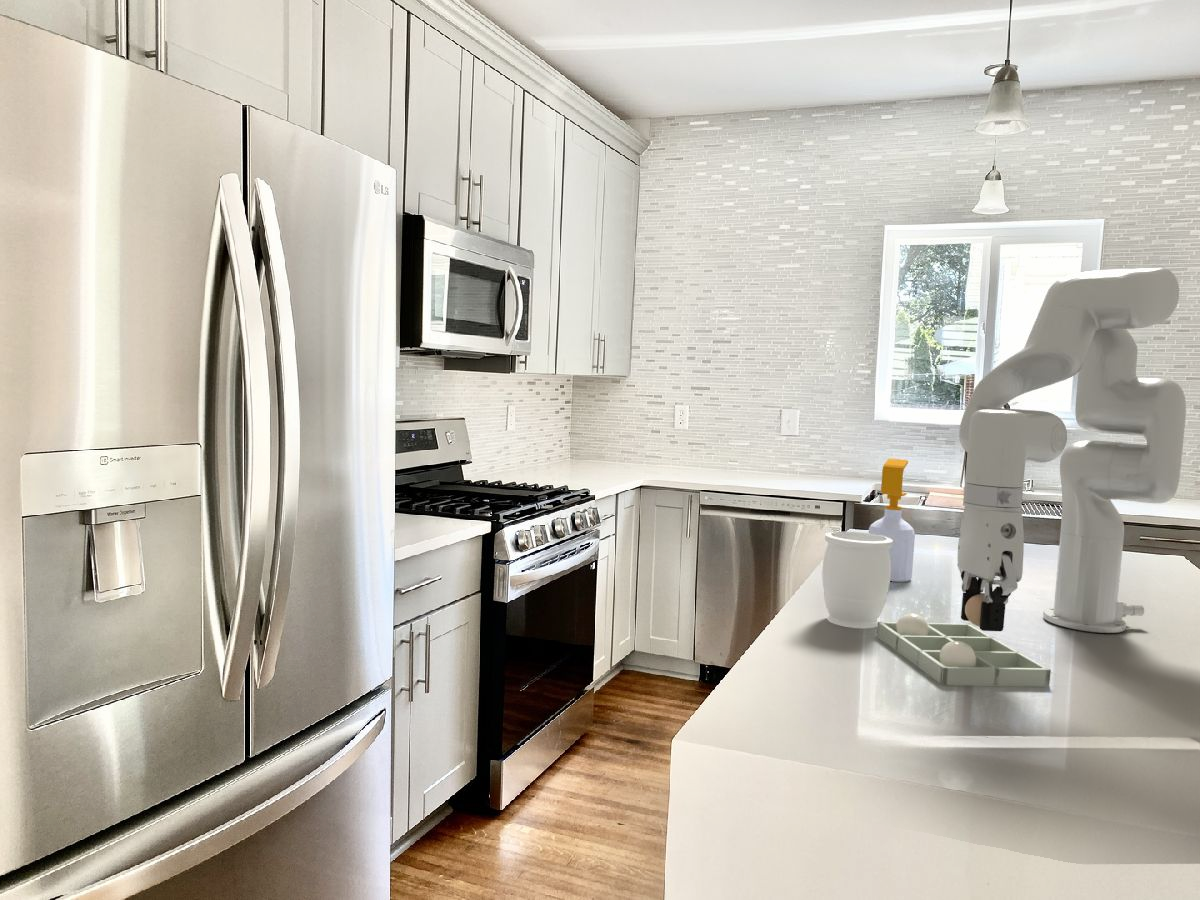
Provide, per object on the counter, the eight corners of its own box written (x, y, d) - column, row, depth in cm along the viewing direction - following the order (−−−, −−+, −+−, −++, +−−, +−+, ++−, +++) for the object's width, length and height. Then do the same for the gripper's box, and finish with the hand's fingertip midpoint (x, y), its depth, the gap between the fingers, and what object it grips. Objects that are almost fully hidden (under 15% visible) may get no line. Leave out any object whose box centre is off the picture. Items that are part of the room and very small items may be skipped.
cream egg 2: (964, 669, 122) (966, 636, 122) (981, 681, 117) (984, 647, 117) (931, 669, 122) (934, 636, 121) (947, 680, 117) (950, 646, 117)
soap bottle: (915, 577, 186) (924, 460, 184) (905, 584, 178) (914, 462, 176) (872, 570, 191) (880, 456, 189) (860, 577, 183) (868, 459, 181)
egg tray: (967, 643, 138) (968, 623, 138) (1048, 693, 117) (1050, 669, 117) (876, 642, 137) (877, 621, 137) (941, 692, 116) (943, 668, 115)
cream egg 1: (919, 639, 136) (921, 609, 136) (933, 648, 131) (935, 618, 131) (890, 639, 136) (892, 609, 135) (902, 648, 131) (905, 617, 131)
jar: (887, 623, 148) (893, 534, 147) (885, 640, 138) (892, 544, 137) (821, 615, 152) (827, 528, 150) (815, 631, 142) (822, 538, 141)
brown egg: (988, 622, 129) (990, 591, 129) (1005, 631, 124) (1008, 599, 124) (957, 621, 129) (960, 590, 128) (973, 630, 124) (976, 598, 124)
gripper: (1053, 507, 117) (1040, 643, 118) (986, 491, 134) (976, 610, 135) (998, 505, 116) (986, 641, 118) (938, 489, 133) (929, 609, 135)
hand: (981, 623), depth 126 cm, fingers closed on brown egg, 4 cm apart
